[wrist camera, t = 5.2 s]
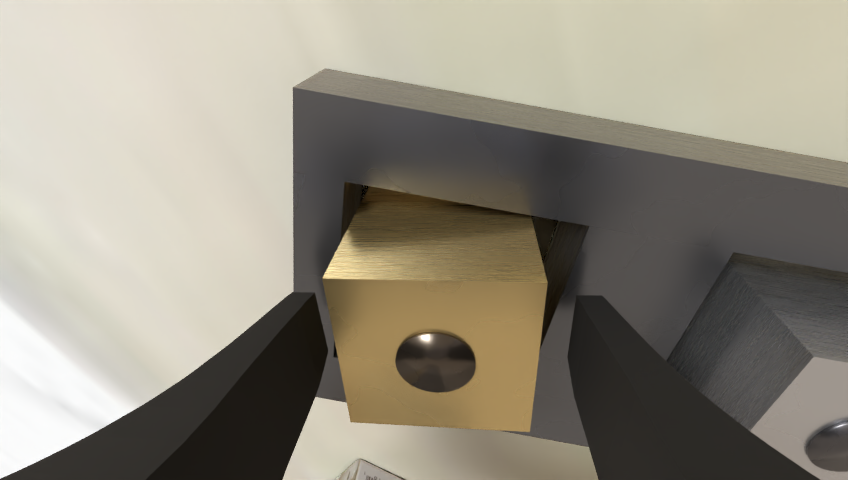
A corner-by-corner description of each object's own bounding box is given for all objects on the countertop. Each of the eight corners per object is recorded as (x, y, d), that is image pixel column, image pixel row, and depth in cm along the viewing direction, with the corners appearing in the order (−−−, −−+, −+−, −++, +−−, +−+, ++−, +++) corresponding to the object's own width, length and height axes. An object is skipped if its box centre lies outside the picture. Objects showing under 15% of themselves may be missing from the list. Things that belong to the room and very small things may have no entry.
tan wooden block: (522, 181, 13) (548, 285, 8) (513, 303, 15) (530, 434, 11) (371, 182, 13) (321, 280, 9) (384, 300, 16) (349, 424, 11)
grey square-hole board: (998, 190, 11) (1113, 235, 9) (781, 427, 17) (824, 490, 15) (325, 68, 12) (293, 87, 10) (315, 342, 17) (293, 392, 15)
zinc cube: (851, 259, 13) (1041, 400, 9) (768, 365, 15) (884, 517, 11) (701, 232, 13) (816, 359, 9) (641, 342, 15) (707, 485, 11)
